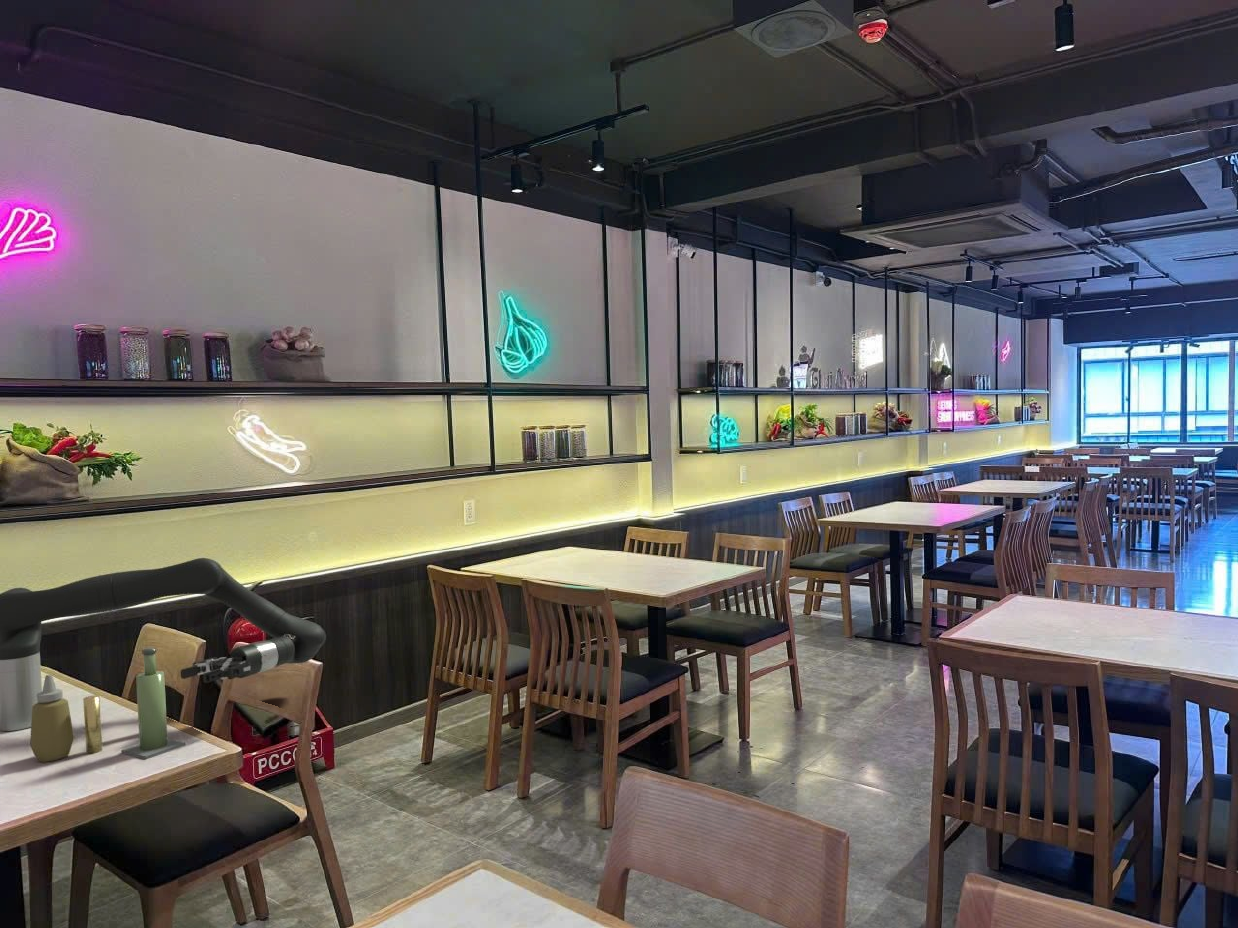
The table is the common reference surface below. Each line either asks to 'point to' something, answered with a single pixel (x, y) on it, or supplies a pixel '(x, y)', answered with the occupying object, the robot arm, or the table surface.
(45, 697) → the squeeze bottle
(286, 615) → the robot arm
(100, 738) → the brass rod
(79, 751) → the table surface
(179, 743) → the grey coaster
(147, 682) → the olive bottle
